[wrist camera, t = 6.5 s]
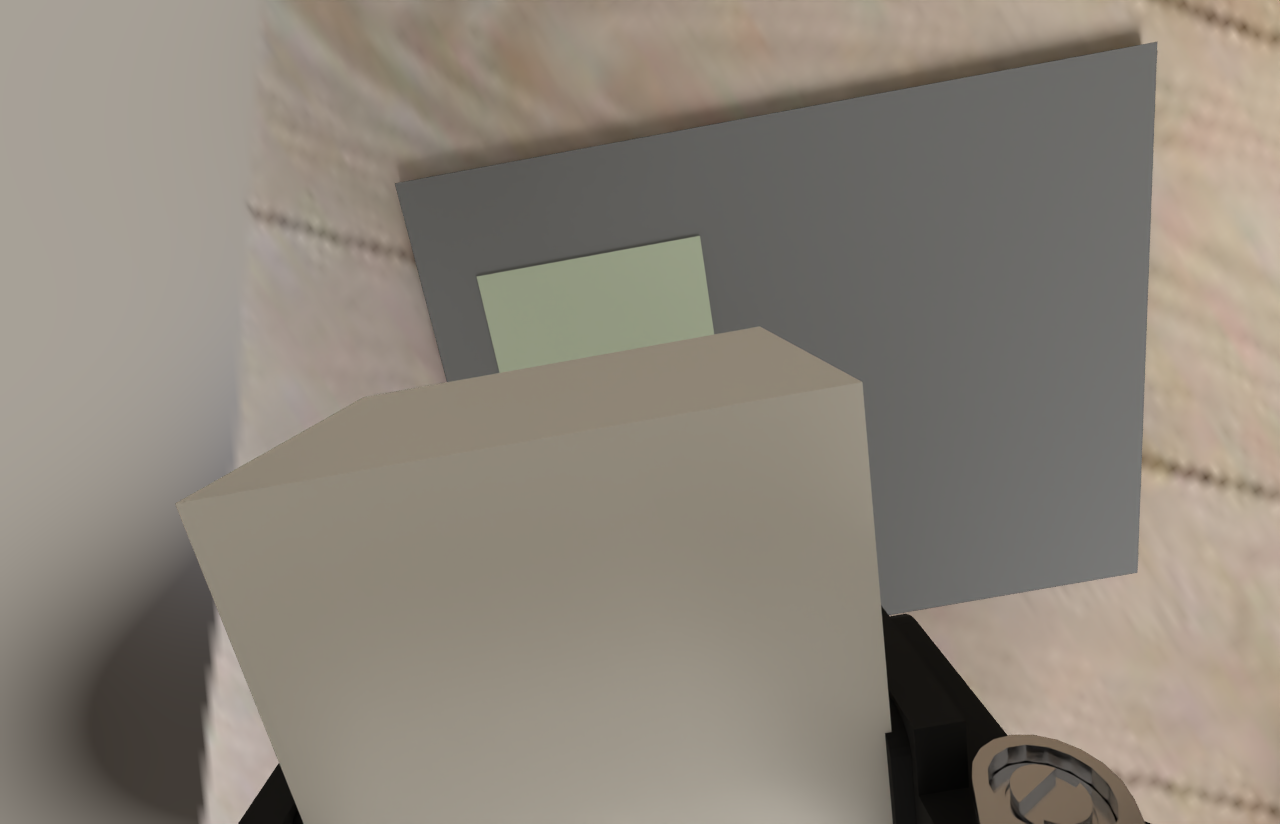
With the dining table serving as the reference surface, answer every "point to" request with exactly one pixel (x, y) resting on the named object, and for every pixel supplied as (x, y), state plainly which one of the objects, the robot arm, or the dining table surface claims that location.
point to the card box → (568, 595)
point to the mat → (865, 293)
